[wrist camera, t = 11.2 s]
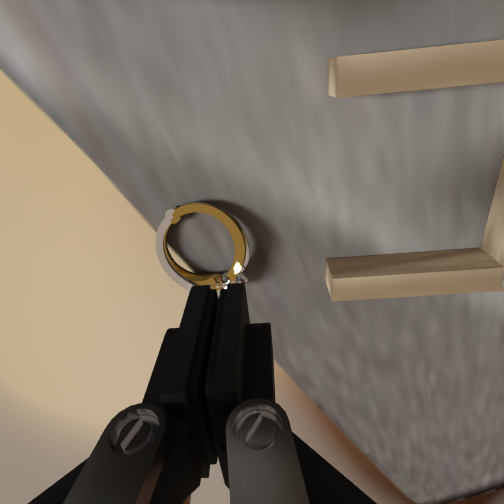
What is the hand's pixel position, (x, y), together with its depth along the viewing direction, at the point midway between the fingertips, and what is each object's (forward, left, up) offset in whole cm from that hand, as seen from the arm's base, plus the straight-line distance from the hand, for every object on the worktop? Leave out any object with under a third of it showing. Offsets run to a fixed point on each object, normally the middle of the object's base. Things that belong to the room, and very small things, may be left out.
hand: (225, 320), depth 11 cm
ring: (+1, -6, -15) cm, 16 cm away
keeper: (+1, +12, -15) cm, 19 cm away
